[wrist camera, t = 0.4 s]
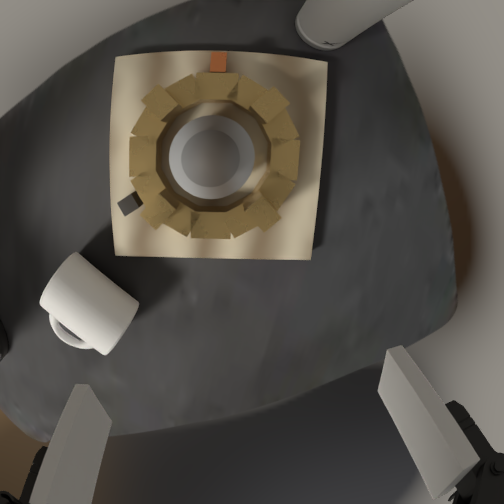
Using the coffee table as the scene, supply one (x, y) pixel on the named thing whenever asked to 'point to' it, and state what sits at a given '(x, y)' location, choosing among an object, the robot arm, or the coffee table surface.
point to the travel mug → (340, 20)
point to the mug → (87, 305)
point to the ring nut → (185, 98)
